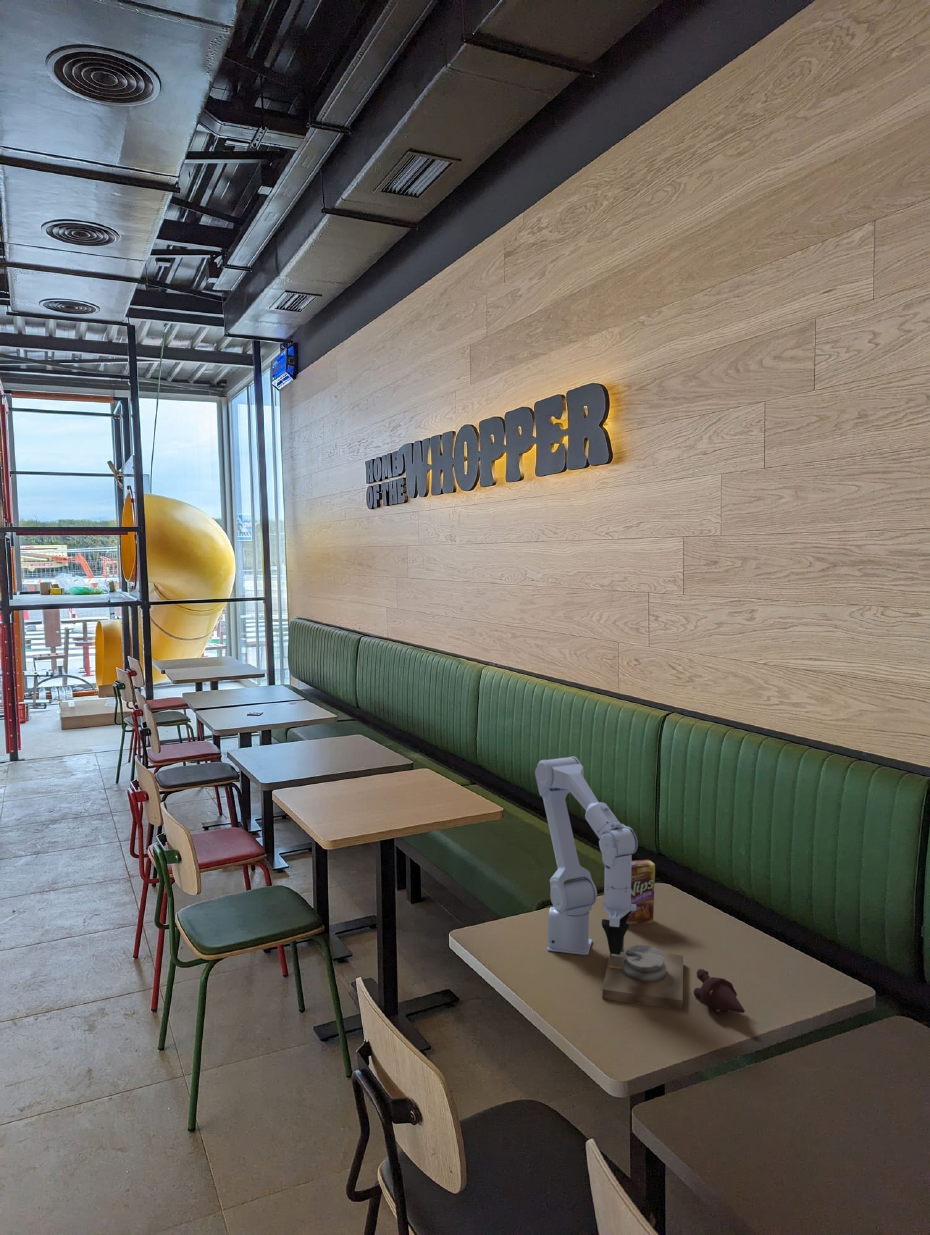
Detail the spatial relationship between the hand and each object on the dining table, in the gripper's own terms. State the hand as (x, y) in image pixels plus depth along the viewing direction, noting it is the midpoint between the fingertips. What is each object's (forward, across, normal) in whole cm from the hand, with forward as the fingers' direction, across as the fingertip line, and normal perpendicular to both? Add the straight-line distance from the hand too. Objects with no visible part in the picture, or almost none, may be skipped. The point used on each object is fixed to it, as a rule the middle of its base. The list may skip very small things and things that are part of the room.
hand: (616, 945), depth 179 cm
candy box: (+7, +30, -2) cm, 31 cm away
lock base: (+7, 0, -6) cm, 9 cm away
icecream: (+7, -8, -21) cm, 24 cm away
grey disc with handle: (+3, 0, -4) cm, 5 cm away
